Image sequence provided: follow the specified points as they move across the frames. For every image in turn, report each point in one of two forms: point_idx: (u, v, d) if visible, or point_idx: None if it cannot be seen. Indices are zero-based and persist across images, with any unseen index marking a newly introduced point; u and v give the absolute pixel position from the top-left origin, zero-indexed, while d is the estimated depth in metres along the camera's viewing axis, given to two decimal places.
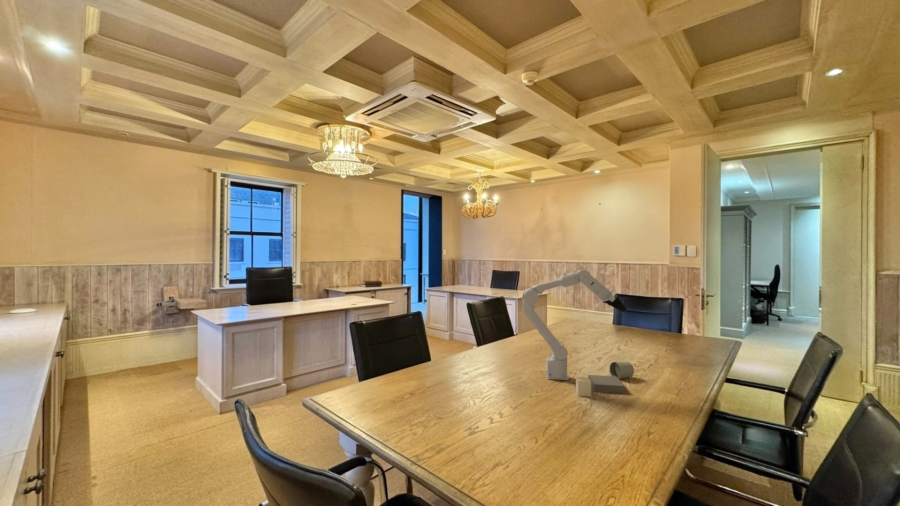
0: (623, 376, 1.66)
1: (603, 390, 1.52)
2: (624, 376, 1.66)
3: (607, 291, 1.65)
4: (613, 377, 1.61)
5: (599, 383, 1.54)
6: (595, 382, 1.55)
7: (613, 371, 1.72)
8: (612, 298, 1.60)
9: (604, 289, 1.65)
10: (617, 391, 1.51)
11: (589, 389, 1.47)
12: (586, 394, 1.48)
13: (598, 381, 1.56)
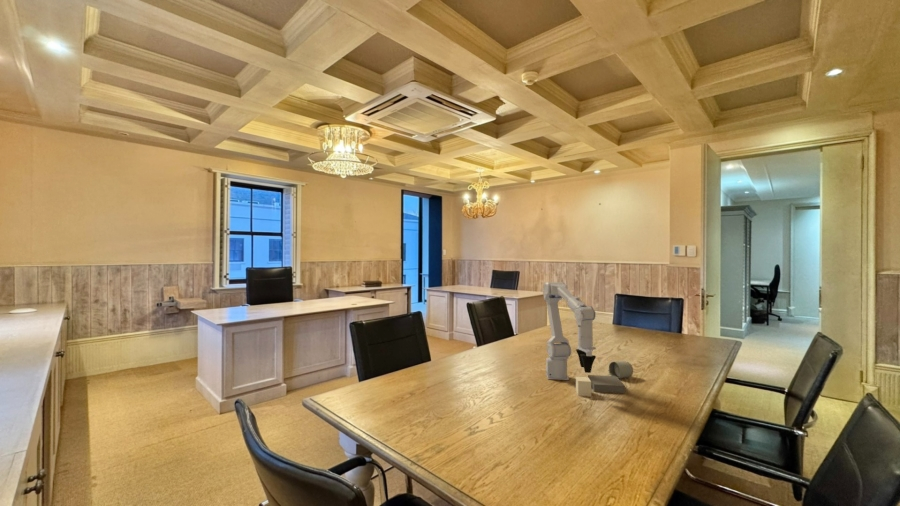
0: (622, 376, 1.66)
1: (603, 390, 1.52)
2: (623, 376, 1.67)
3: (590, 345, 1.48)
4: (613, 377, 1.61)
5: (599, 383, 1.54)
6: (595, 382, 1.55)
7: (612, 371, 1.72)
8: (590, 353, 1.43)
9: (590, 341, 1.48)
10: (617, 391, 1.51)
11: (589, 389, 1.47)
12: (586, 394, 1.48)
13: (598, 381, 1.56)
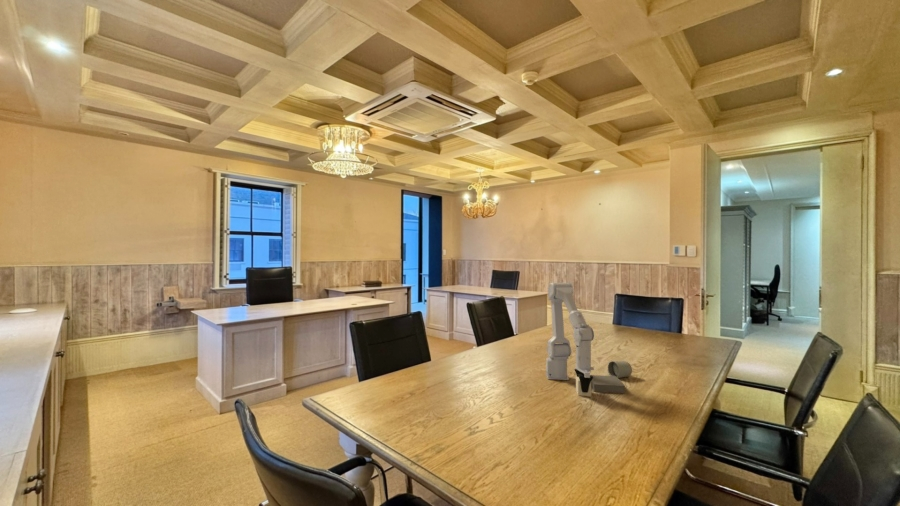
0: (621, 375, 1.67)
1: (603, 390, 1.52)
2: (622, 375, 1.67)
3: (588, 365, 1.48)
4: (613, 377, 1.61)
5: (599, 383, 1.54)
6: (595, 382, 1.55)
7: (611, 371, 1.73)
8: (587, 375, 1.43)
9: (588, 361, 1.48)
10: (617, 391, 1.51)
11: (589, 389, 1.47)
12: (586, 394, 1.48)
13: (598, 381, 1.56)
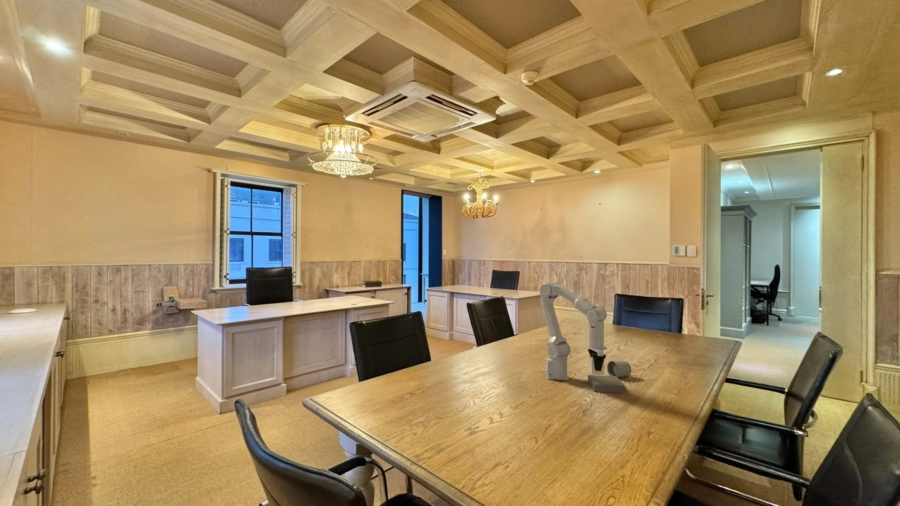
0: (620, 375, 1.68)
1: (603, 390, 1.52)
2: (621, 375, 1.68)
3: (601, 345, 1.52)
4: (613, 377, 1.61)
5: (599, 383, 1.54)
6: (595, 382, 1.55)
7: (610, 370, 1.73)
8: (601, 353, 1.47)
9: (601, 341, 1.52)
10: (617, 391, 1.51)
11: (602, 368, 1.52)
12: (599, 373, 1.52)
13: (598, 381, 1.56)
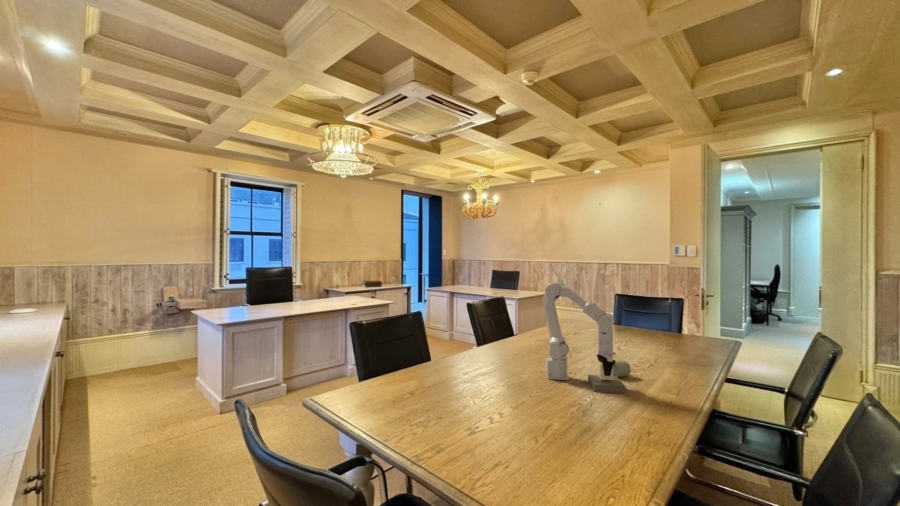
0: (620, 375, 1.68)
1: (603, 390, 1.52)
2: (621, 375, 1.68)
3: (611, 350, 1.55)
4: None
5: (599, 383, 1.54)
6: (595, 382, 1.55)
7: None
8: (610, 359, 1.50)
9: (610, 346, 1.55)
10: (617, 391, 1.51)
11: (611, 373, 1.55)
12: (609, 378, 1.55)
13: (598, 381, 1.56)
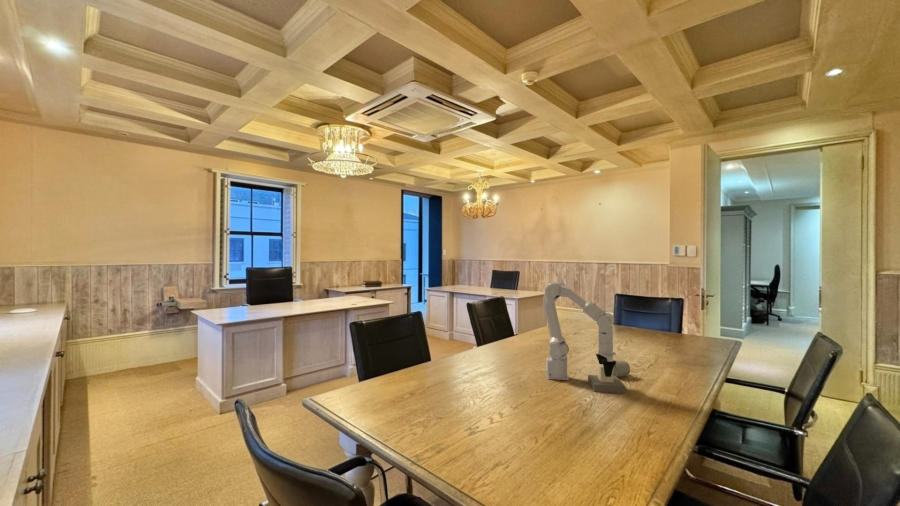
0: (619, 374, 1.68)
1: (603, 390, 1.52)
2: (620, 374, 1.68)
3: (611, 350, 1.55)
4: (613, 377, 1.61)
5: (599, 383, 1.54)
6: (595, 382, 1.55)
7: None
8: (610, 359, 1.50)
9: (610, 346, 1.55)
10: (617, 391, 1.51)
11: (611, 375, 1.55)
12: (608, 380, 1.55)
13: (598, 381, 1.56)
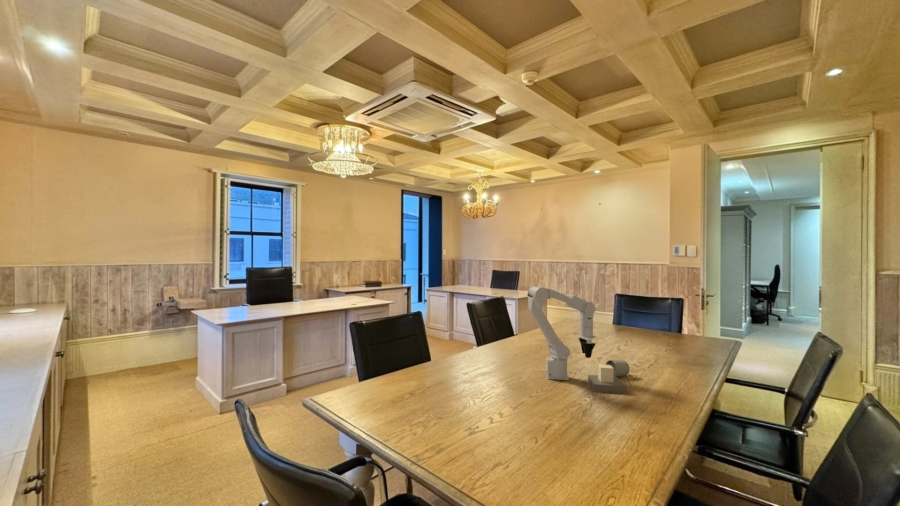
0: (619, 374, 1.69)
1: (603, 390, 1.52)
2: (620, 374, 1.69)
3: (591, 334, 1.70)
4: (613, 377, 1.61)
5: (599, 383, 1.54)
6: (595, 382, 1.55)
7: None
8: (590, 341, 1.65)
9: (590, 330, 1.70)
10: (617, 391, 1.51)
11: (611, 375, 1.55)
12: (608, 380, 1.55)
13: (598, 381, 1.56)
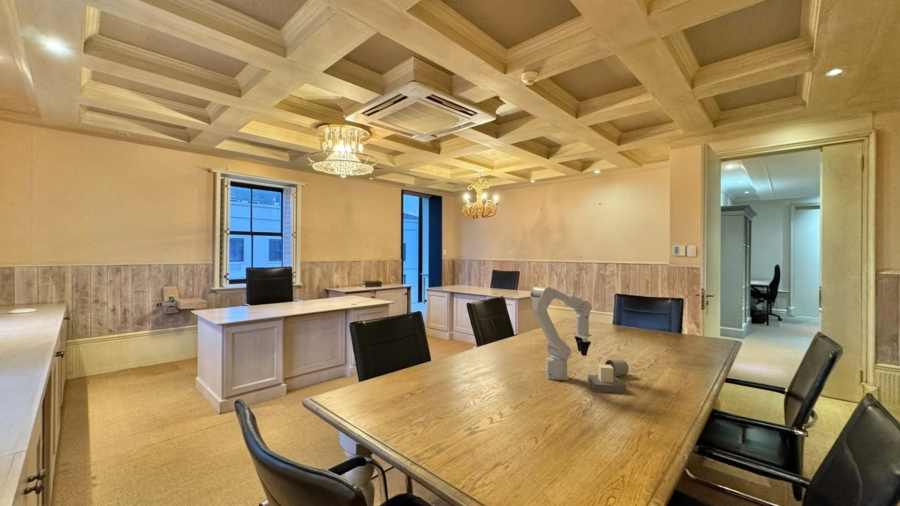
0: (618, 374, 1.69)
1: (603, 390, 1.52)
2: (619, 374, 1.69)
3: (586, 332, 1.74)
4: (613, 377, 1.61)
5: (599, 383, 1.54)
6: (595, 382, 1.55)
7: None
8: (586, 339, 1.69)
9: (586, 329, 1.73)
10: (617, 391, 1.51)
11: (611, 375, 1.55)
12: (608, 380, 1.55)
13: (598, 381, 1.56)
